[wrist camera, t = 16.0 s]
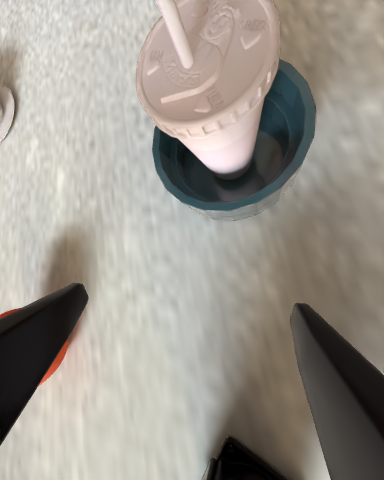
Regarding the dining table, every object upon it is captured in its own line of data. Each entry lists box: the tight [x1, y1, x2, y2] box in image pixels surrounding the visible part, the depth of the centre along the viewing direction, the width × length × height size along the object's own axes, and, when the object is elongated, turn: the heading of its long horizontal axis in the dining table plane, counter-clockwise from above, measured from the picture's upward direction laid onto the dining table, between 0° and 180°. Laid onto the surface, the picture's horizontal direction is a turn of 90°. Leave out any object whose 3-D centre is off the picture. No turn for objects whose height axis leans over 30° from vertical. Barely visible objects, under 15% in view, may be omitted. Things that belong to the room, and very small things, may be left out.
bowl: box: [152, 59, 316, 221], centre depth 16 cm, size 11×11×4 cm
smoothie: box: [136, 0, 280, 180], centre depth 11 cm, size 6×6×14 cm
